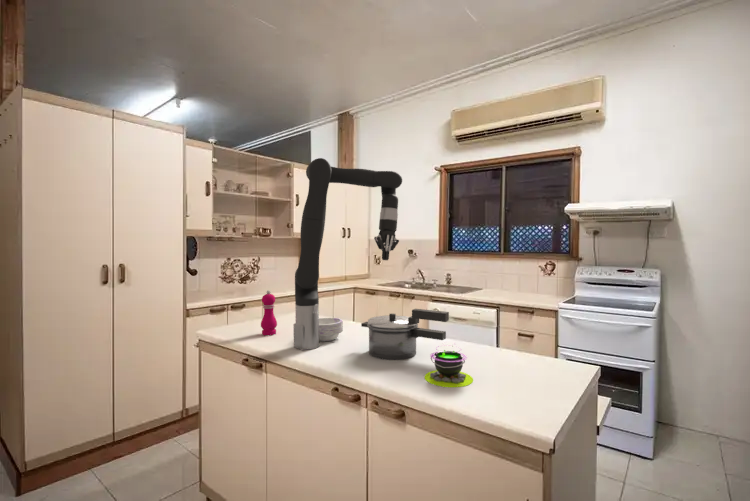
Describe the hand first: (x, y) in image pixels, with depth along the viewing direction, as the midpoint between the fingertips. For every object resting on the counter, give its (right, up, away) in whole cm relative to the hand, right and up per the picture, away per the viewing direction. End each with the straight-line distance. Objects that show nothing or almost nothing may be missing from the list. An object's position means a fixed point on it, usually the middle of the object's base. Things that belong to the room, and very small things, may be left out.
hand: (385, 260), depth 165 cm
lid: (+8, -24, -19) cm, 32 cm away
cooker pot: (+6, -35, -18) cm, 40 cm away
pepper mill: (-53, -34, +14) cm, 64 cm away
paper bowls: (-26, -35, +5) cm, 44 cm away
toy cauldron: (+19, -36, -43) cm, 59 cm away
